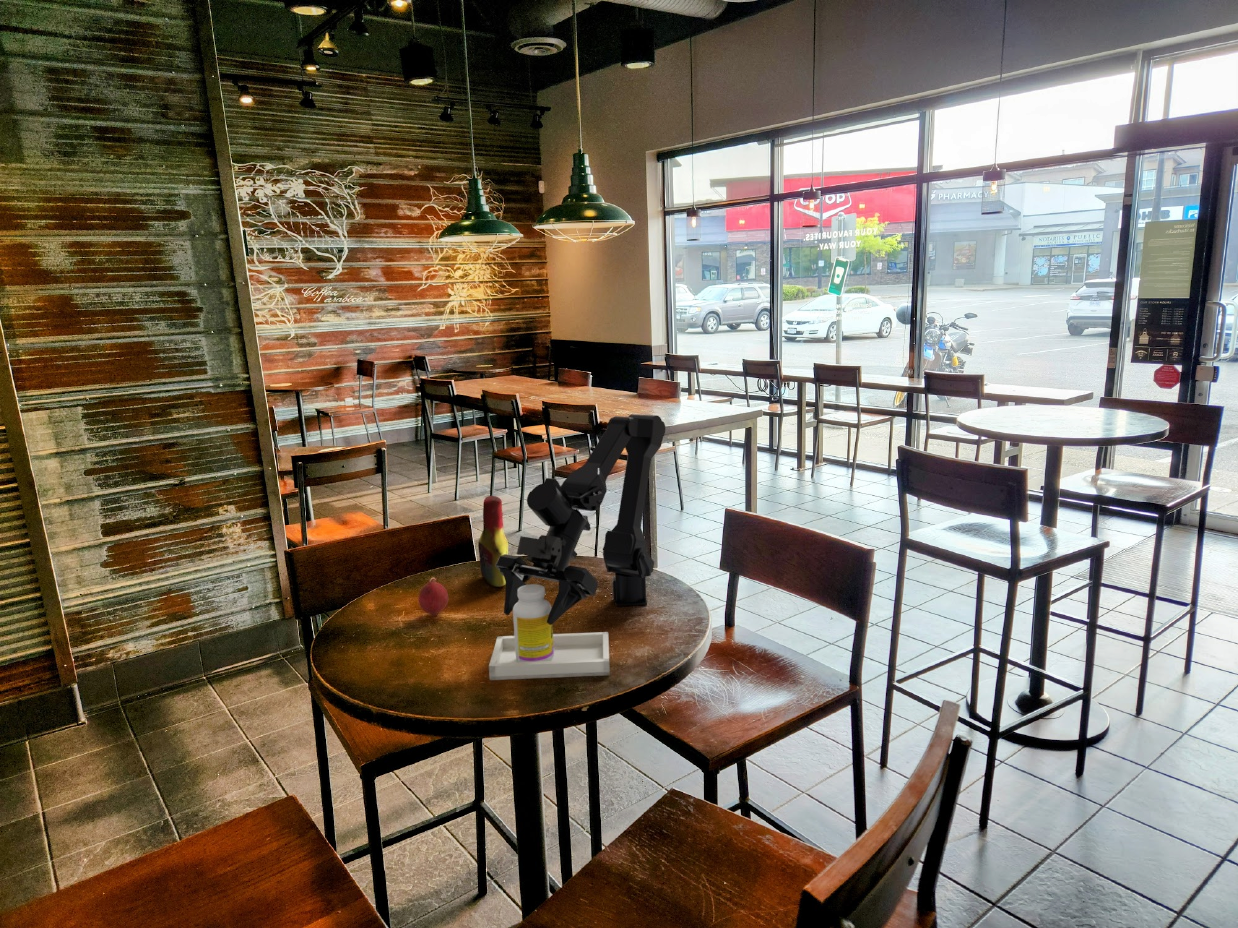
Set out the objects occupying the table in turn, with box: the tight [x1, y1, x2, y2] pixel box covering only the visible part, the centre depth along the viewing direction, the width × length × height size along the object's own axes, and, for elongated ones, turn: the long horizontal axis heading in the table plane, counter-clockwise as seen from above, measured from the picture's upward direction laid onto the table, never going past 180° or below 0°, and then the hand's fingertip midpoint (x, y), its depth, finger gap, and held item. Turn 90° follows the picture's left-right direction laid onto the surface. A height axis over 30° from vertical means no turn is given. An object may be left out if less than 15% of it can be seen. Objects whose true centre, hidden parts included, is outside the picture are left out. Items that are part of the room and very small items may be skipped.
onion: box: [418, 577, 449, 617], centre depth 158 cm, size 6×6×8 cm
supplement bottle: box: [512, 583, 554, 662], centre depth 135 cm, size 7×7×13 cm
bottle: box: [477, 495, 509, 588], centre depth 176 cm, size 12×6×20 cm, turn 17°
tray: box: [488, 631, 611, 681], centre depth 137 cm, size 20×12×2 cm, turn 92°
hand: (526, 618), depth 134 cm, fingers open, 9 cm apart
